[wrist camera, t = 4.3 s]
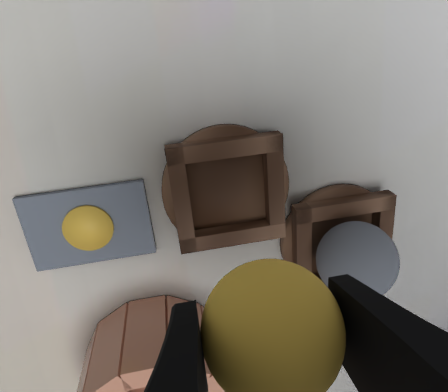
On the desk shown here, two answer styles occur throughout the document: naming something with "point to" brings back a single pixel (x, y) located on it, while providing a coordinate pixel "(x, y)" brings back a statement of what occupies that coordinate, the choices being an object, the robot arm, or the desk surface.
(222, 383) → the mustard ball
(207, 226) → the round-based square frame stand
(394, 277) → the grey ball
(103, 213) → the card
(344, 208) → the brown cradle
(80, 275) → the desk surface
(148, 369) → the pink faceted bowl
